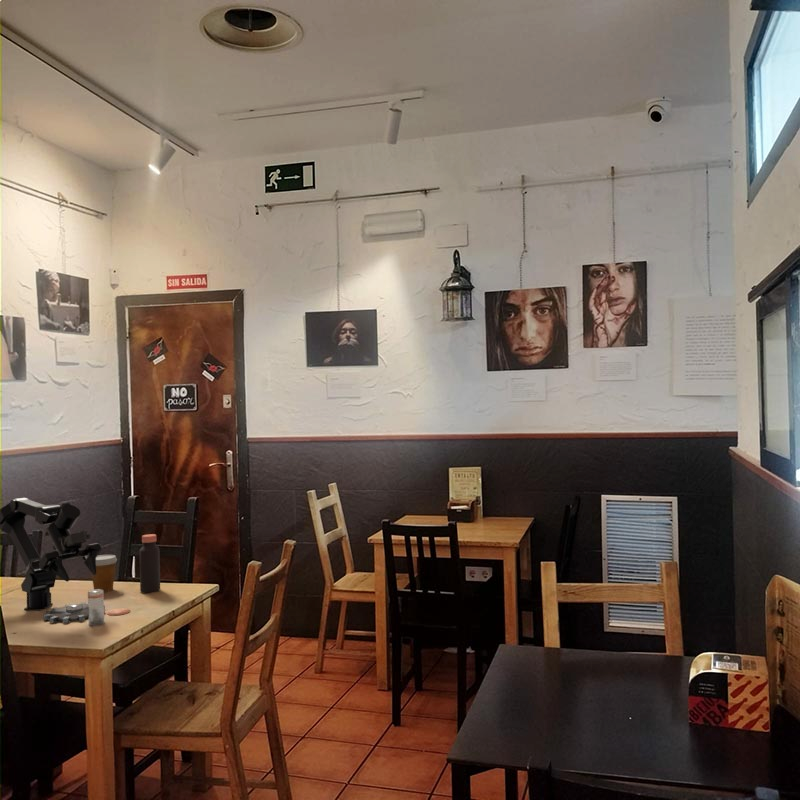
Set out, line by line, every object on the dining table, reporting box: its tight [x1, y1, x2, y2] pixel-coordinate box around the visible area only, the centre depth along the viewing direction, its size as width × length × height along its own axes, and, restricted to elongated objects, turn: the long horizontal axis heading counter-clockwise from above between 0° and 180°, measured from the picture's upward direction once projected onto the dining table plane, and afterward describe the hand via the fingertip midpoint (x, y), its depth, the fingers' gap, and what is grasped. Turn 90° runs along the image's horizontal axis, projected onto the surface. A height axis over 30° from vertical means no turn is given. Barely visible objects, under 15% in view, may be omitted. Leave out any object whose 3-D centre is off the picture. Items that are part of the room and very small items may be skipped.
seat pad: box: [106, 607, 131, 616], centre depth 233 cm, size 7×7×1 cm
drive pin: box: [87, 589, 105, 627], centre depth 222 cm, size 4×4×10 cm
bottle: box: [139, 533, 161, 594], centre depth 259 cm, size 7×7×20 cm
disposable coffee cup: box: [91, 554, 118, 593], centre depth 262 cm, size 10×10×12 cm
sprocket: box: [43, 601, 106, 624], centre depth 231 cm, size 18×18×3 cm
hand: (82, 577), depth 227 cm, fingers open, 9 cm apart
